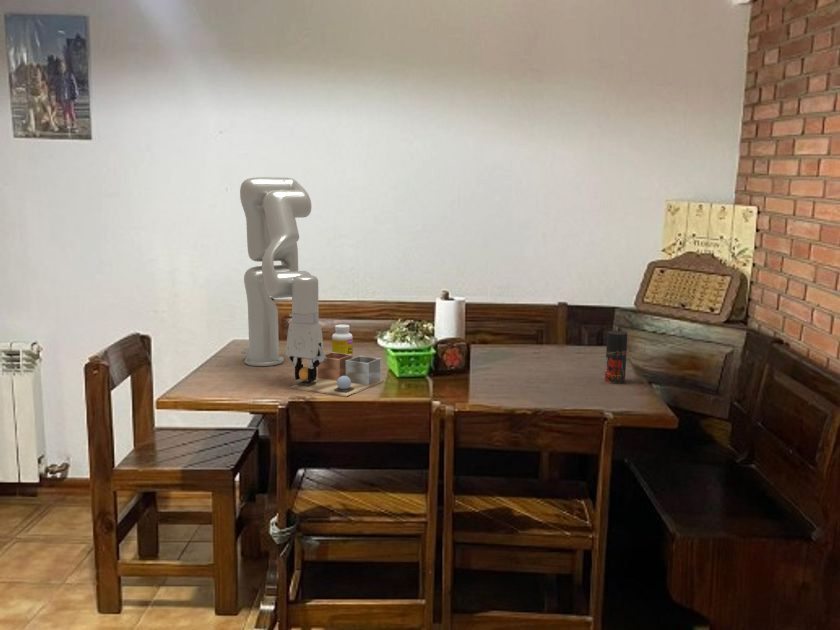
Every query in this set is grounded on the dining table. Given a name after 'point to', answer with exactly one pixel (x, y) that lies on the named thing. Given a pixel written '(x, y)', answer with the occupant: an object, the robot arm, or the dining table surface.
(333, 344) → the supplement bottle
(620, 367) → the deodorant
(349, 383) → the slate ball
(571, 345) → the dining table surface
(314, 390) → the stand
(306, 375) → the orange ball
